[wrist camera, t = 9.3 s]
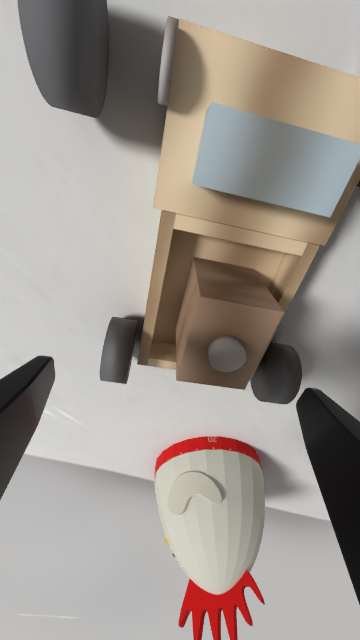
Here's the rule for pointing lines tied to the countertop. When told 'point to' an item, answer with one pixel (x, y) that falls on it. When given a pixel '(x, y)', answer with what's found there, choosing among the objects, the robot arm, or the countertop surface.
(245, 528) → the kitchen timer
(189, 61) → the chassis
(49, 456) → the countertop surface
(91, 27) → the wheel
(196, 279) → the block
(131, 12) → the countertop surface
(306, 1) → the countertop surface
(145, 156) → the countertop surface
